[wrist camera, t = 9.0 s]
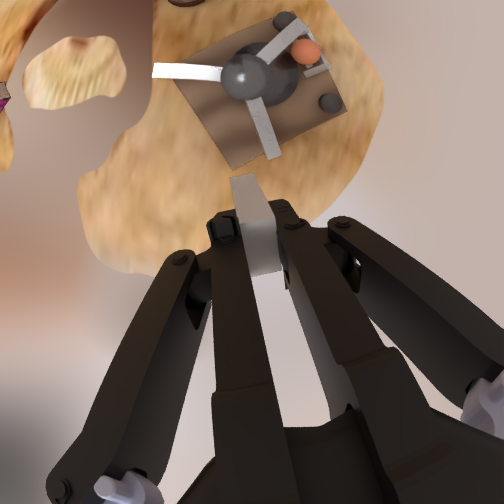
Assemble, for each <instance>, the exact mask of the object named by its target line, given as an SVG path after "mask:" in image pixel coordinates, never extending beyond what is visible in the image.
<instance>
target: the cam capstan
mask: <svg viewBox="0 0 504 504" xmlns="http://www.w3.org/2000/svg"><path fill="white" fill-rule="evenodd" d="M308 27H309V26H307V25H306V24H305V23H304V22H303V21H301V20H300V19H299V18H298V17H297V18H296V19H295V20H294V21H293V22H292V23H290V24H289V25H288V26H287V27H286V28H285V29H284V30H282V31H281V32H280V33H279V34H278V35H277V36H276V37H275V38H274V39H273V40H272V41H271V42H269V43H267V42H257V43H252V44H249V45H246V46H244V47H242V48H241V49H239V50H238V51H237V52H236V53H235V54H234V55H233V57H232V58H231V59H230V60H228V61H227V62H226V63H225V65H224V66H223V67H216V66H206V65H194V64H176V63H155V64H154V70H153V76H152V77H153V78H159V79H184V80H198V81H209V82H218V83H221V85H222V87H223V89H224V90H225V91H226V93H227V94H229V95H230V96H231V97H233V98H235V99H238V100H241V101H243V102H245V104H246V106H247V109H248V112H249V114H250V117H251V119H252V122H253V125H254V127H255V130H256V132H257V135H258V138H259V140H260V143H261V146H262V149H263V151H264V154H265V157H266V158H267V159H268V160H270V159H273V158H276V157H278V156H281V155H282V154H281V151H280V148H279V145H278V142H277V139H276V136H275V133H274V130H273V128H272V125H271V122H270V119H269V117H268V114H267V111H266V108H265V107H269V106H274V105H277V104H280V103H282V102H284V101H285V100H287V99H288V98H289V97H290V96H291V95H292V94H293V92H294V91H295V89H296V87H297V84H298V79H299V72H298V67H297V64H296V62H295V60H294V59H293V57H292V56H291V55H290V54H289V53H288V52H287V51H286V50H285V48H286V47H287V46H288V45H289V44H290V43H291V42H292V41H294V40H295V39H296V38H297V37H298V36H299V35H300V34H301V33H302V32H303V31H305V30H306V29H307V28H308Z"/></svg>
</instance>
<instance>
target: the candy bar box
mask: <svg viewBox="0 0 504 504" xmlns="http://www.w3.org/2000/svg"><path fill="white" fill-rule="evenodd" d="M10 98H11V96H10V94H9V93H8V90H7V88H6V85H5V83H4V82H0V112H1V110H2V109H3V108H4V106H5V105H6V104H7V102H8V101H9V99H10Z"/></svg>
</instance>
